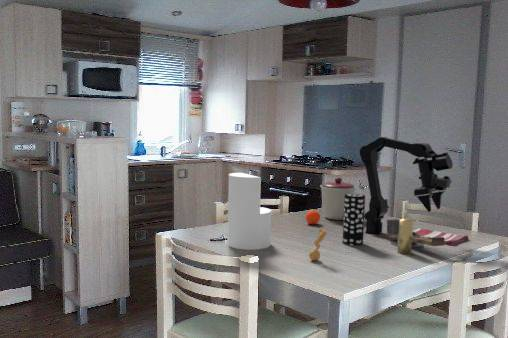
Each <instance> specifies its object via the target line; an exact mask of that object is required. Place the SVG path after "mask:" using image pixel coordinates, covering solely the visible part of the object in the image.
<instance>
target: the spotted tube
mask: <svg viewBox="0 0 508 338" xmlns="http://www.w3.org/2000/svg"><path fill="white" fill-rule="evenodd" d="M365 209H366V195H365V194H361V193H354V194H345V196H344V220H343V221H342V222H343V225H342V244H344V245H346V246H350V247H351V246H353V247H359V246H362V245H364V235H365V234H364V233H365V231H364V230H365V218H364V214H365V213H366V211H365Z"/></svg>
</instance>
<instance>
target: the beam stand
mask: <svg viewBox="0 0 508 338" xmlns="http://www.w3.org/2000/svg"><path fill="white" fill-rule="evenodd" d="M412 235H413V236H418V233H416V232H412ZM398 237H399V233H398ZM390 244H391V245H393V246H395V247H397V248H398V239H397V240H395V241H390ZM424 247H425V244H420V243H415V242H412V247H411V249H417V248H424Z"/></svg>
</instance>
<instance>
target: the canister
mask: <svg viewBox="0 0 508 338" xmlns="http://www.w3.org/2000/svg"><path fill="white" fill-rule="evenodd" d="M342 181H343V179H342V177H338V176H337V177H335V178H334V181H328V182H327V181H326V182H324V183H322V184H320V185H319V188H321V201H322V202H321V203H322V204H321V205H322V213H323V216H324V217H325V218H326V219H328V220H335V221H342V220H344V196H345V194H355V191H356V189H357V186H355V185H354V184H352V183H348V182H344V181H343V182H342Z"/></svg>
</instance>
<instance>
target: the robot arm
mask: <svg viewBox="0 0 508 338" xmlns="http://www.w3.org/2000/svg"><path fill="white" fill-rule="evenodd" d="M385 147H386V148H389V149H394V150H398V151H403V152H406V153H409V154H410V155H411V156H414V157H416V158H415V159H414V160H413V162H412V165H417V166H418V170H419V176H418V179H419V180H420V181H421V186H420V187H418V188H415V189H414V190H413V194H414V197H416V198H417V199H418V200H419V202H420V203H421V204H422V205H423V207H424V208H425V209H426V211H427V212H432V203H431V199H432V202H433V204H434V205H435V207H436V209H437V210H440V209H441V203H442V196H443V195H444V194H445V192H446V190H447V188H451V187H450V186H451V184H452V179H451V178H450V176H449V175H445V176H443V177H438V174H437V173H435V171H436V172H440V171H446V170H451V169H452V168H453V159H452V158H451V156H450V155H449V152H442V153H441V154H438V153H437V152H435V150H433V149H432V146H431V144H429V143H428V142H408V141H404V140H398V139H396V138H395V139H394V138H390V137H387V136H380V137H378V138H377V139H375V140H373V141H371V142H370V143H368V144H367V145H362V147H360V148H359V150H358V151H359V156H360V160H361V161H362V163H363V165H364V166H365V170H366V176H367V182H368V187H369V188H368V189H369V195H370V200H369V203H368V205H369V206H368V211H366V212H365V213H364V221H365V220H366V223H365V225H366V226H365V227H366V228H365V231H364V233H365V234H374V235H381V233H383V226H384V225H383V224H384V222H383V221H382V219H384V218H385V216H386V214H387V213H388V212H389V208H390V207H389V204H388V198H384V197H383V194H382V190H381V184H380V177H379V173H378V166H377V164H378V161H379V160H378V159H379V153H380V152H381V151H382V150H383V149H384V148H385Z"/></svg>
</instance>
